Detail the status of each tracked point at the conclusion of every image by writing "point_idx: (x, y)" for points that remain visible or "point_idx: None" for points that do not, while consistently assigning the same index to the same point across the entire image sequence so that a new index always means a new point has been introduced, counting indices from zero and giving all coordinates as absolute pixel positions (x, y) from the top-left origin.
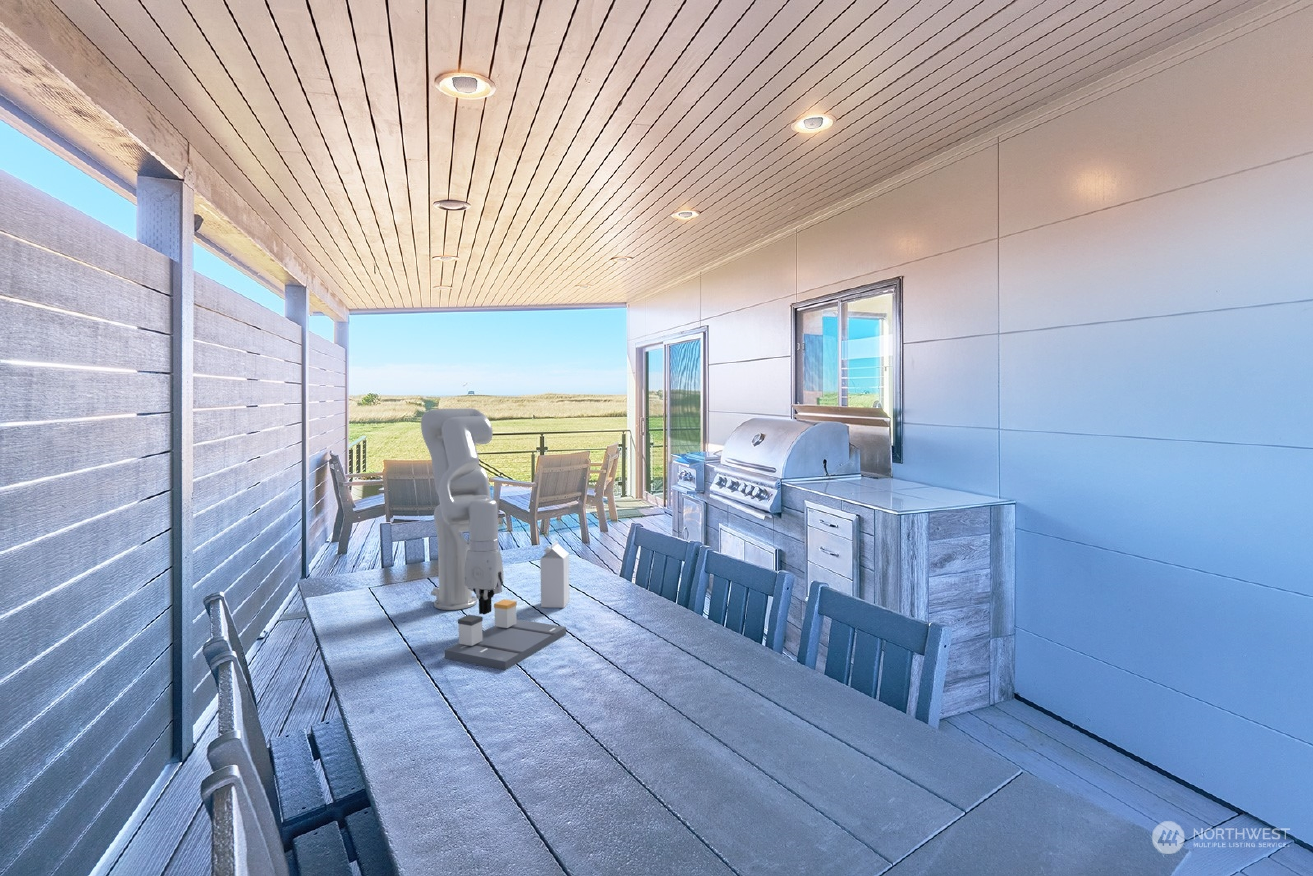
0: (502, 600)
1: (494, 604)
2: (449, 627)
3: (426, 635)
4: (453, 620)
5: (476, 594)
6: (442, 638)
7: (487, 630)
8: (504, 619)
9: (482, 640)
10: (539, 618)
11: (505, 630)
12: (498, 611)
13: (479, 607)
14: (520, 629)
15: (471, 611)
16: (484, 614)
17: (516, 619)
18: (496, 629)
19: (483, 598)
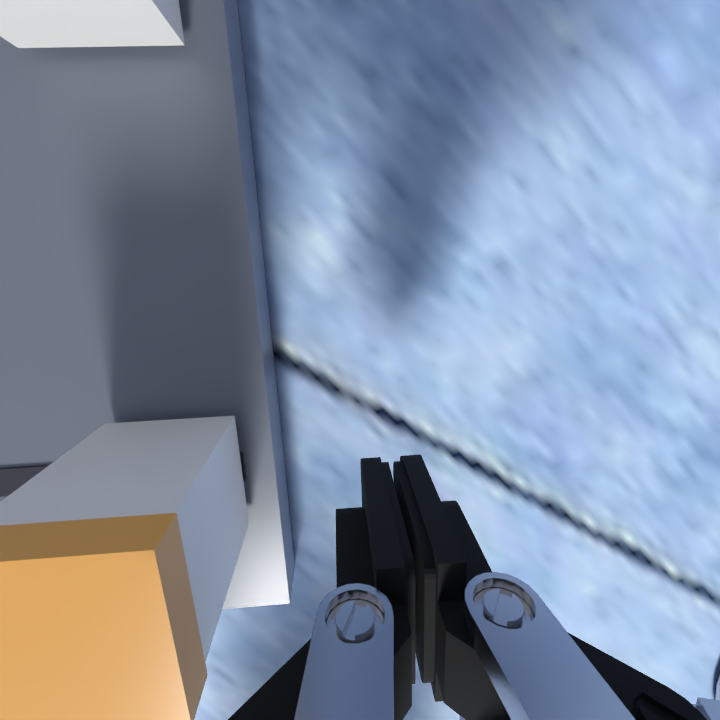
0: (172, 695)
1: (146, 544)
2: (641, 364)
3: (707, 156)
4: (692, 472)
5: (557, 634)
6: (553, 160)
7: (236, 330)
8: (89, 456)
9: (16, 46)
10: (227, 710)
11: (108, 397)
12: (128, 494)
13: (428, 490)
14: (23, 466)
15: (674, 626)
16: (361, 464)
17: (228, 603)
18: (191, 382)
19: (435, 624)
